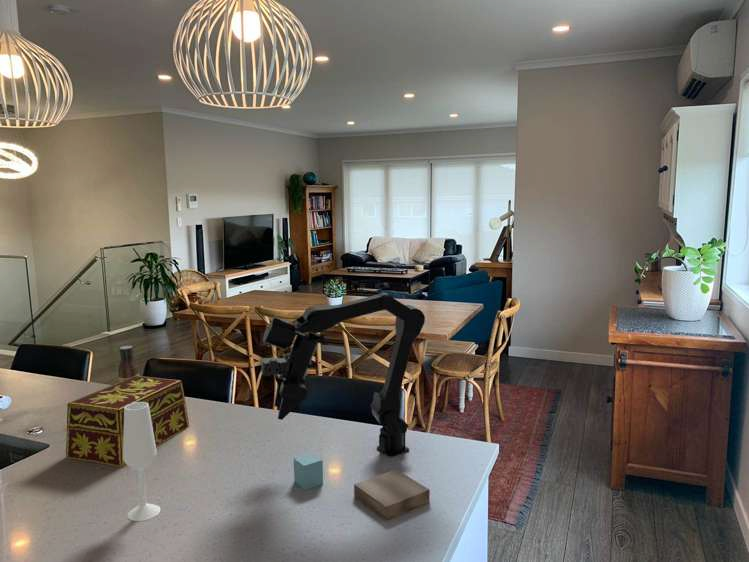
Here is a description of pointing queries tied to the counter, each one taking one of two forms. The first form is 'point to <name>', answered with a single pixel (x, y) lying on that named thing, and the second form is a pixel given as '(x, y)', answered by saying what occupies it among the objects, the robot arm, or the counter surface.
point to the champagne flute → (139, 453)
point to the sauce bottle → (127, 364)
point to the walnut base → (391, 494)
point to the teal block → (308, 471)
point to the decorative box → (122, 417)
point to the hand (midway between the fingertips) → (277, 412)
